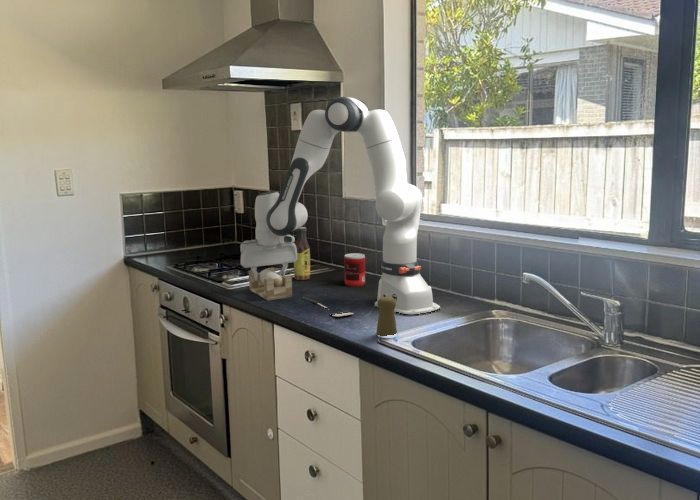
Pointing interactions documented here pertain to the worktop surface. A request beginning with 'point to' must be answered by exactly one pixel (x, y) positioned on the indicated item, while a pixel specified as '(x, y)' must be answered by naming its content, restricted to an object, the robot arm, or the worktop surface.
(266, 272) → the roll
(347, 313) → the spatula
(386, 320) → the olive green tall figure
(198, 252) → the worktop surface
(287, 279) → the holder
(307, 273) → the sauce bottle
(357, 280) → the canned food
